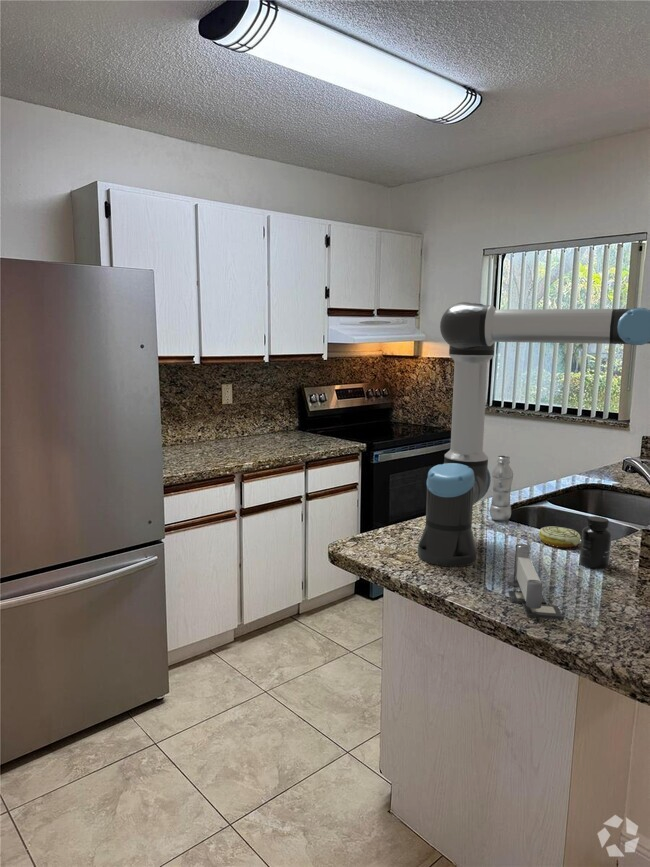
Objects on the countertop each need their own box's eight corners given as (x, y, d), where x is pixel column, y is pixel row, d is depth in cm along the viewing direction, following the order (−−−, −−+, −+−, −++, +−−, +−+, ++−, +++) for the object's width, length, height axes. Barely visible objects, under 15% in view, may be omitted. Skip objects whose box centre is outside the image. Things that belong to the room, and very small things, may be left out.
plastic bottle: (490, 522, 185) (494, 458, 181) (488, 516, 191) (491, 454, 188) (512, 523, 184) (516, 459, 180) (509, 517, 190) (513, 455, 187)
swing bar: (515, 577, 138) (516, 557, 138) (528, 578, 138) (530, 557, 137) (527, 608, 123) (528, 585, 122) (542, 609, 123) (544, 586, 122)
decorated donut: (584, 551, 162) (586, 537, 162) (543, 548, 164) (544, 535, 163) (573, 537, 173) (575, 525, 172) (535, 535, 174) (536, 523, 173)
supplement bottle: (611, 571, 148) (616, 524, 146) (582, 568, 149) (586, 522, 147) (605, 560, 155) (609, 515, 153) (576, 558, 156) (580, 513, 154)
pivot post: (506, 584, 139) (509, 547, 138) (511, 577, 144) (513, 540, 142) (529, 589, 137) (531, 551, 136) (533, 581, 141) (535, 544, 140)
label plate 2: (526, 616, 124) (527, 613, 124) (522, 605, 129) (522, 602, 129) (562, 619, 123) (562, 615, 123) (557, 608, 128) (557, 605, 128)
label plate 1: (512, 602, 130) (512, 599, 130) (508, 592, 135) (508, 589, 135) (545, 605, 129) (546, 602, 129) (541, 595, 134) (541, 592, 134)
